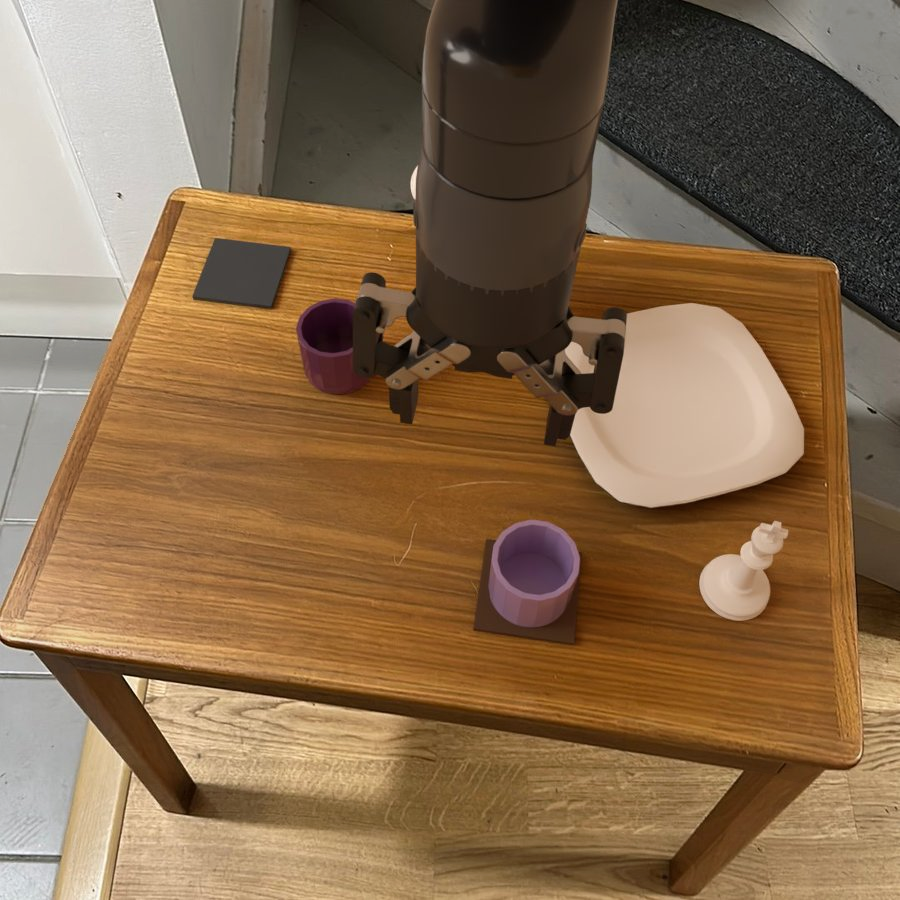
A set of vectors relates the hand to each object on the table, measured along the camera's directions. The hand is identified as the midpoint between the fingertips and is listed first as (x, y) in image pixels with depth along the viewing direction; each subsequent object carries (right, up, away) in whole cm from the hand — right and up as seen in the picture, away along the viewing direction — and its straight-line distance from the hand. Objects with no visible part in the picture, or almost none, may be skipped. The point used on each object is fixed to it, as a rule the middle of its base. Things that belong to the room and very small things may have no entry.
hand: (479, 422), depth 55 cm
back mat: (-20, +14, +26) cm, 36 cm away
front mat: (+4, -12, +11) cm, 16 cm away
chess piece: (+19, -12, +11) cm, 25 cm away
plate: (+16, +2, +19) cm, 25 cm away
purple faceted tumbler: (-11, +5, +21) cm, 24 cm away
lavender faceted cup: (+4, -12, +10) cm, 16 cm away
